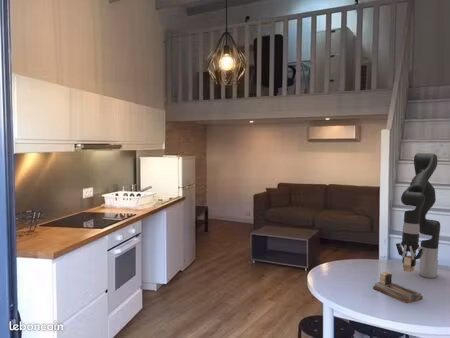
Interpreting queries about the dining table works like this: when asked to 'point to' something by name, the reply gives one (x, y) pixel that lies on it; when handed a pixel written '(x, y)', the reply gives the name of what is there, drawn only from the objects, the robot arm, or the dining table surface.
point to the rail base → (396, 289)
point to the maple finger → (408, 264)
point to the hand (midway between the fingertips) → (408, 265)
